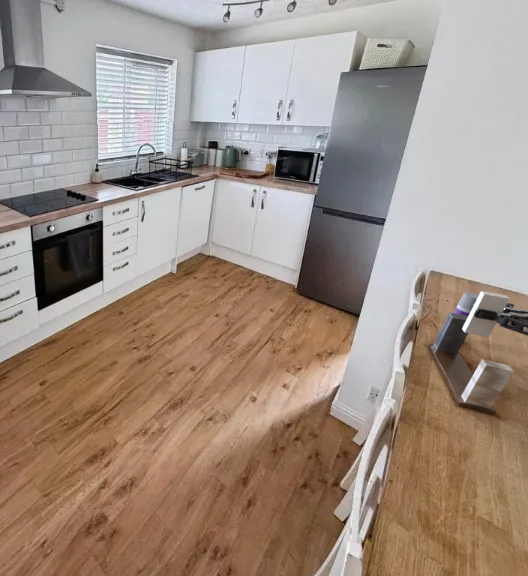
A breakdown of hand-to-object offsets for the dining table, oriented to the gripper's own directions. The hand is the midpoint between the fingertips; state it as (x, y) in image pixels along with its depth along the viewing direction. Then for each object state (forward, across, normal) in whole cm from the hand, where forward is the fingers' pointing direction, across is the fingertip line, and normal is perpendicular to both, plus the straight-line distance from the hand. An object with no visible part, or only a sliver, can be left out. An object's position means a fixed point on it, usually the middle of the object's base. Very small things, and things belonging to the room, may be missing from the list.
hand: (473, 310), depth 92 cm
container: (-7, -21, +18) cm, 29 cm away
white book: (-2, 0, +6) cm, 6 cm away
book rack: (-2, +2, +18) cm, 19 cm away
